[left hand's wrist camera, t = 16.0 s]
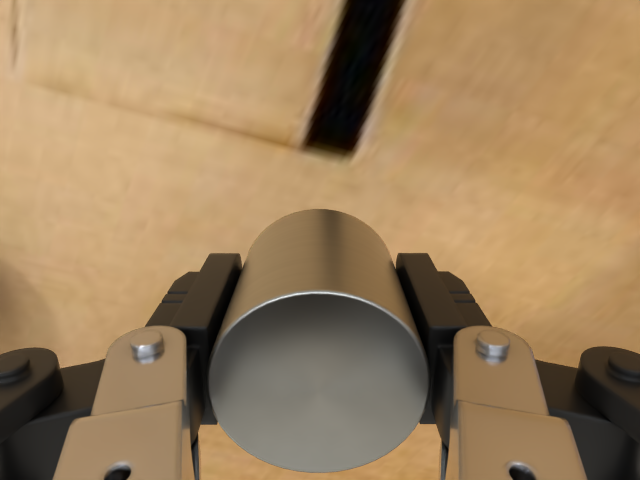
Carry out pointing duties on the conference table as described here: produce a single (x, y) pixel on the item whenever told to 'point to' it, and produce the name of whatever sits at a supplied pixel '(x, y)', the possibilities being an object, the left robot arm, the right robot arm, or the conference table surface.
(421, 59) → the conference table surface
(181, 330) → the left robot arm
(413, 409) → the tin
